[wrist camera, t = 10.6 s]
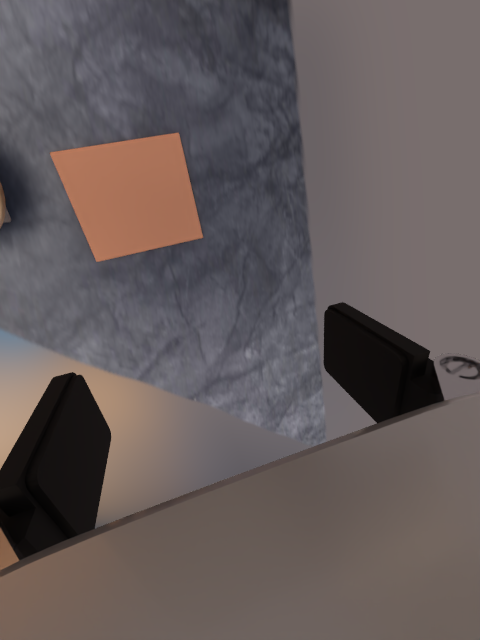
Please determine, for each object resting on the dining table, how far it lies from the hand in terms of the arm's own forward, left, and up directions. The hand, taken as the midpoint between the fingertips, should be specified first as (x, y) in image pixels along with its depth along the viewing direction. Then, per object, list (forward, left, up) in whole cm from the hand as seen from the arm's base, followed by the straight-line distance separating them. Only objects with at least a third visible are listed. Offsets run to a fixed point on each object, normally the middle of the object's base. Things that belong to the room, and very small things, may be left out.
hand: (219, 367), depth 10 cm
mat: (-6, -3, -30) cm, 30 cm away
